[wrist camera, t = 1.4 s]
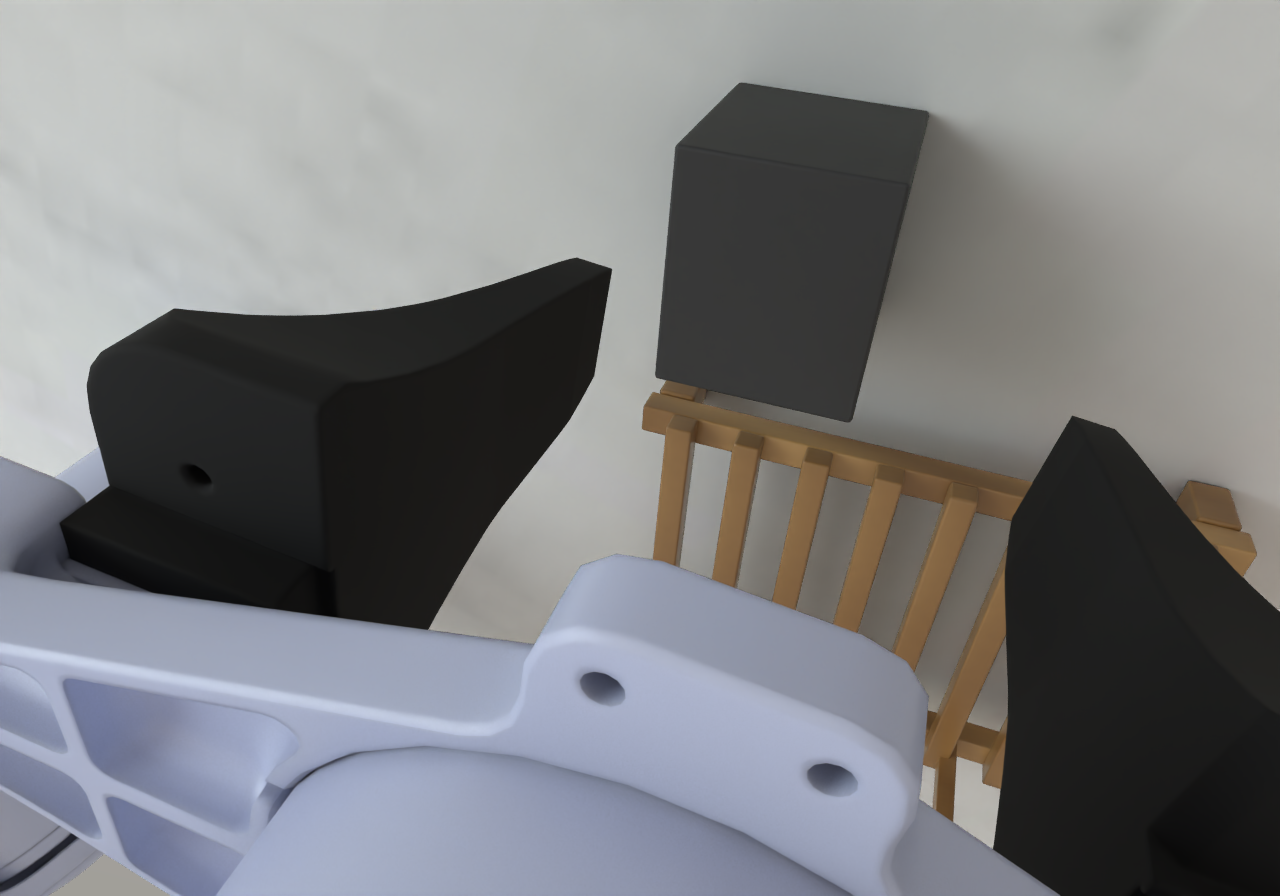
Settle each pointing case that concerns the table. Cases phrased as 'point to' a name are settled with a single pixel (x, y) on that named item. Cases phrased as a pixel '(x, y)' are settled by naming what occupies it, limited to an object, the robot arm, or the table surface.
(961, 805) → the table surface
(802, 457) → the dish rack
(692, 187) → the black box
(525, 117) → the table surface
